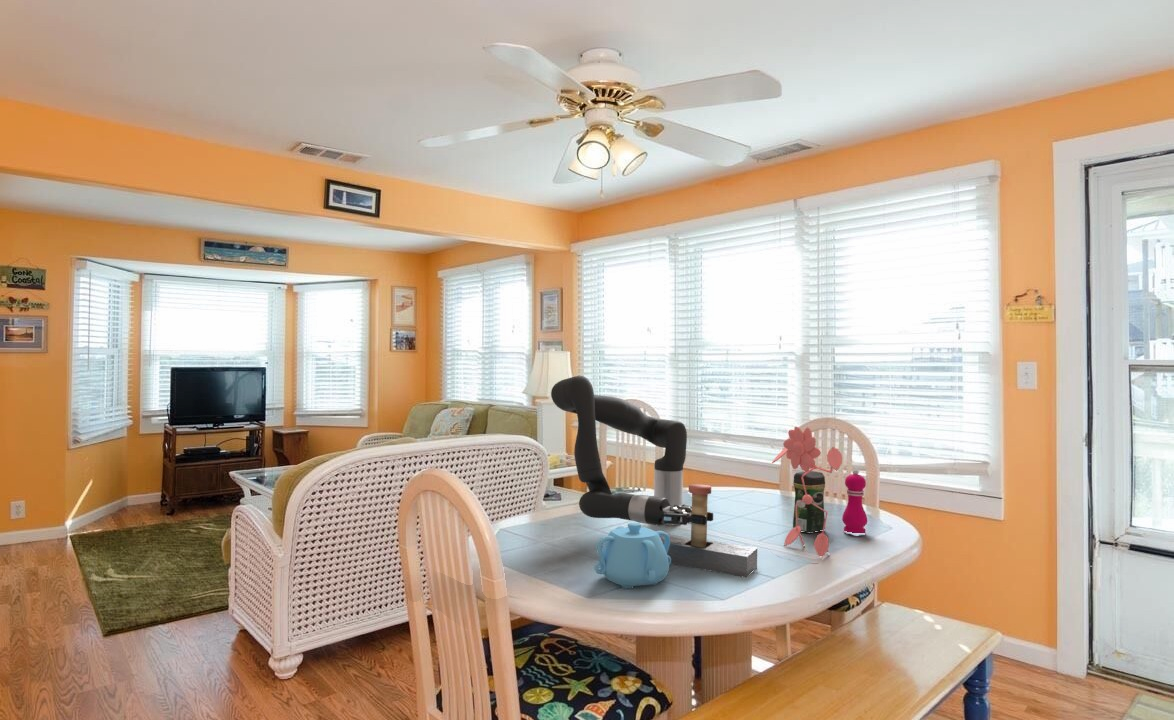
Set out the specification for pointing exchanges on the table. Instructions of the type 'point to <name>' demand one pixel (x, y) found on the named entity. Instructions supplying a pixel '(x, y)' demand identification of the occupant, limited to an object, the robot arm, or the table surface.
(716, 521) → the table surface
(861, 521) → the pepper mill
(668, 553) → the bar
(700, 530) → the oak pin
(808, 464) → the figurine
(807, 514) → the coffee jar
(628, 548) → the decorative pot
